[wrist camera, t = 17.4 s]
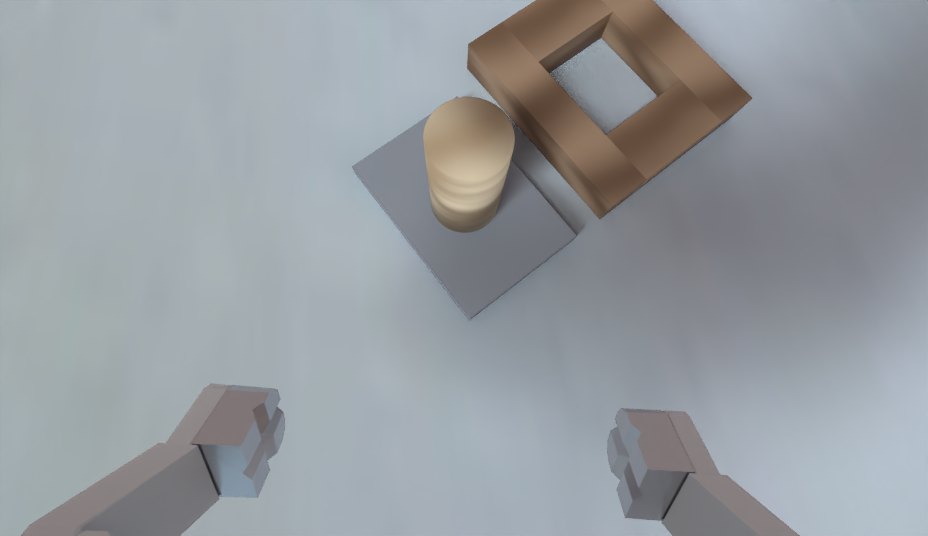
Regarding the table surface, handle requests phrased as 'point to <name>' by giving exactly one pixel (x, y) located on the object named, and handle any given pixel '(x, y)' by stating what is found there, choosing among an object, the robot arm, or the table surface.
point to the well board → (568, 127)
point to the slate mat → (454, 253)
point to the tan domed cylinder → (467, 161)
